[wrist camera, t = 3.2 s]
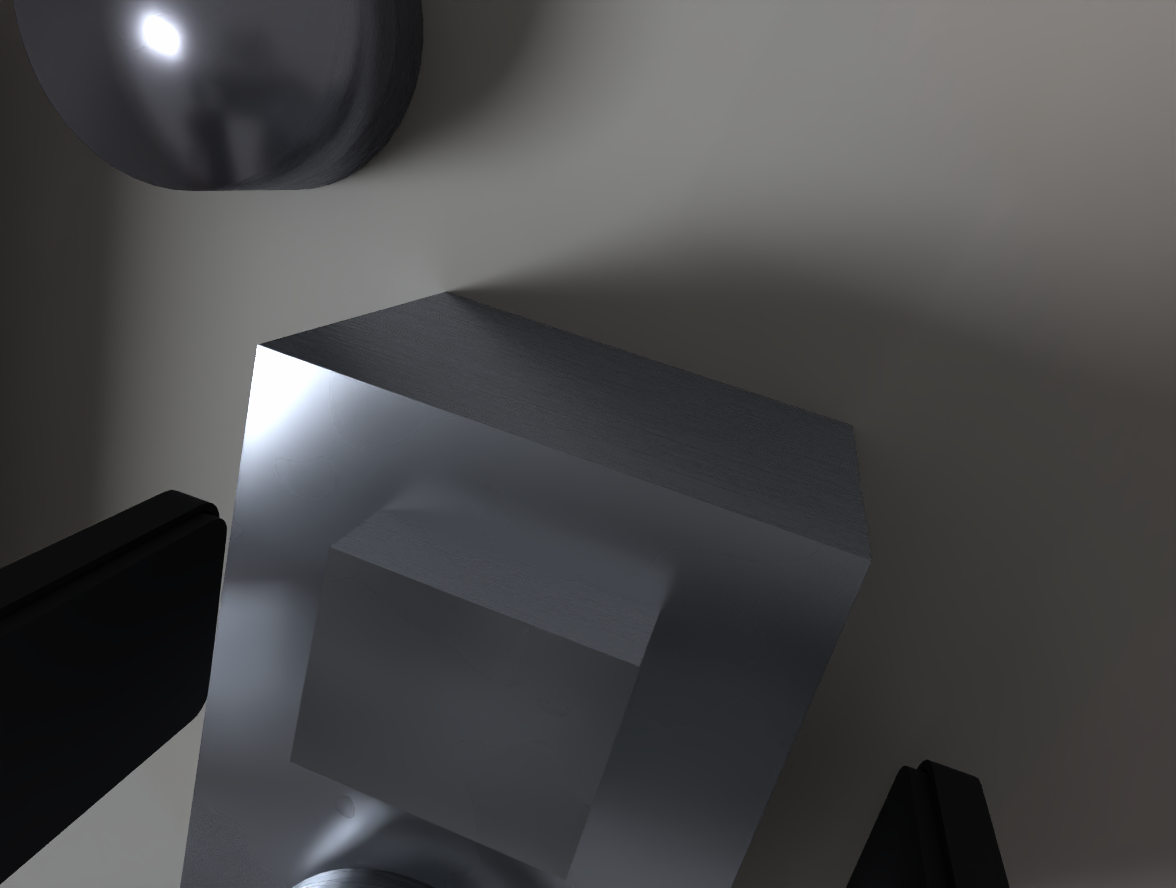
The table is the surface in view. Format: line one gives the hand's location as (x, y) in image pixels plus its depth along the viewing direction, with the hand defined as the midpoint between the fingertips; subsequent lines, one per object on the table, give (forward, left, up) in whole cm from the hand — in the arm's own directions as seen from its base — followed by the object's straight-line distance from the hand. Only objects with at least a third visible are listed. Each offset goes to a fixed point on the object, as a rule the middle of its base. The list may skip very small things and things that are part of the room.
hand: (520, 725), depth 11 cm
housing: (0, 0, -1) cm, 1 cm away
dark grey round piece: (+5, -7, -1) cm, 9 cm away
